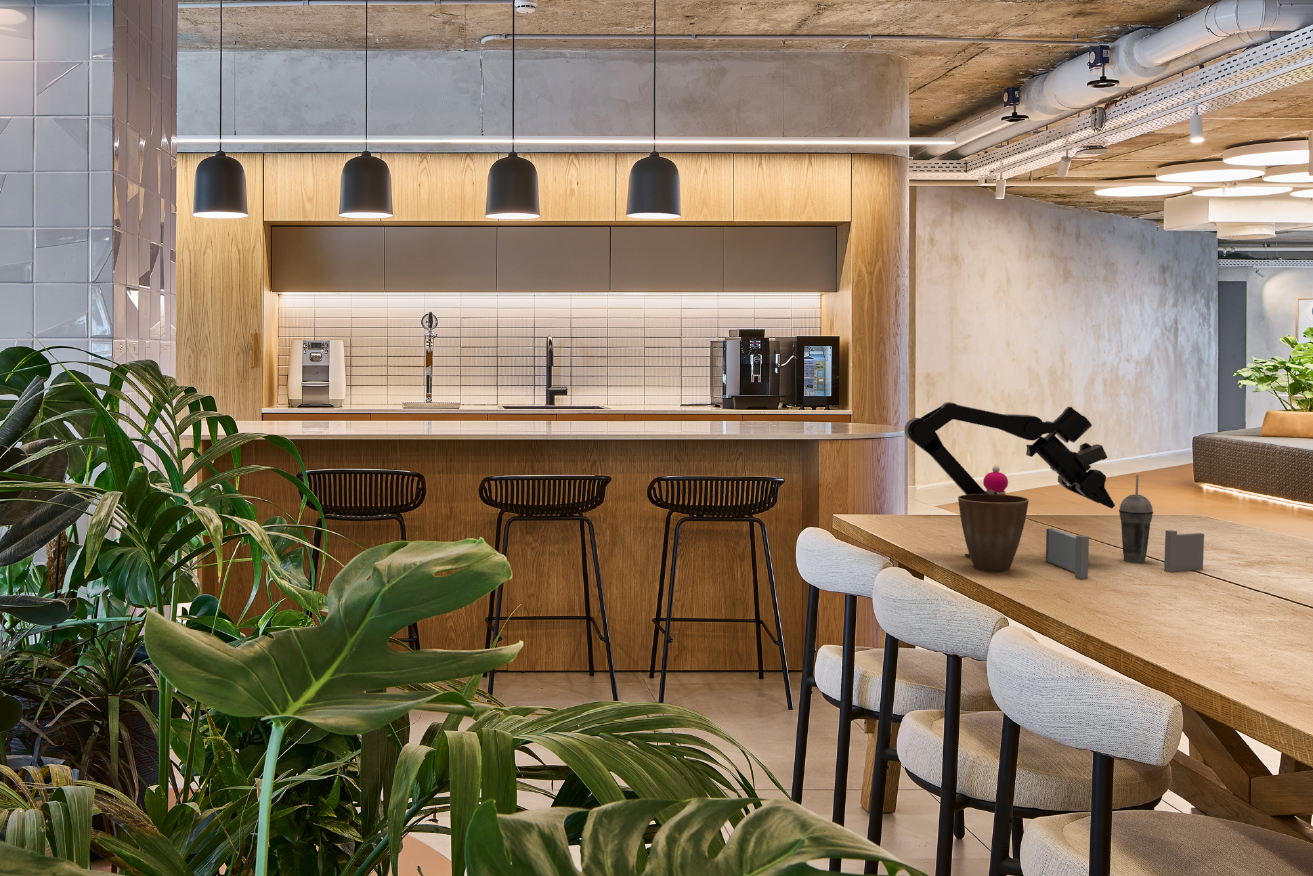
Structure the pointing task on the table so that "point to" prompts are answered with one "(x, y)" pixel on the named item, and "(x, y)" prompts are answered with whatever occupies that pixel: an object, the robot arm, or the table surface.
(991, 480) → the pepper mill
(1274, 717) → the table surface
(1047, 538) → the grey thin rectangular panel
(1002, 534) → the plant pot
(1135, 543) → the beverage cup
